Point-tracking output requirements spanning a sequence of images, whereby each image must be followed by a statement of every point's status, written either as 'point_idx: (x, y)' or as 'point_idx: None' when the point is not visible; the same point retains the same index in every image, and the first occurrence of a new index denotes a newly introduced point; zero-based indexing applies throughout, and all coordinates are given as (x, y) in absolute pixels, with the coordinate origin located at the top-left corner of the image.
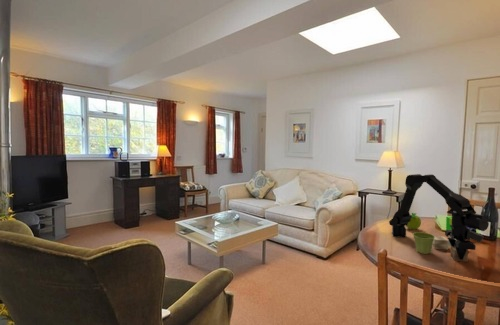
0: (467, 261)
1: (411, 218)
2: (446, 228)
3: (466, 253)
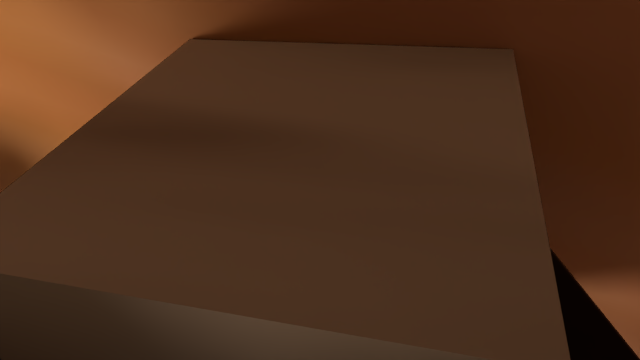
0: (512, 59)
1: None
2: None
3: (539, 290)
